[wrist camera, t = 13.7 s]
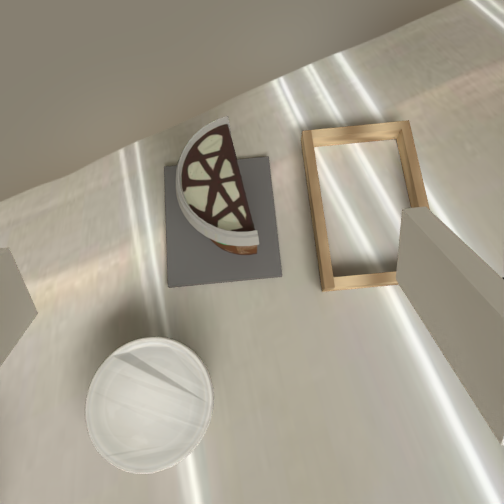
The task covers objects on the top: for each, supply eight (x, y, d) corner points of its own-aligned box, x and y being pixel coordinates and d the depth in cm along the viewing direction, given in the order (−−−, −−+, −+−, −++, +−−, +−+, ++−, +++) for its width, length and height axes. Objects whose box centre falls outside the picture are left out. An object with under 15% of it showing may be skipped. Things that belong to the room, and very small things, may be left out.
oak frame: (403, 130, 47) (409, 120, 45) (436, 280, 42) (445, 276, 40) (300, 140, 47) (302, 130, 45) (322, 291, 42) (324, 288, 40)
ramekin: (214, 334, 41) (207, 329, 36) (224, 453, 38) (218, 466, 33) (106, 347, 41) (83, 343, 36) (107, 467, 38) (83, 482, 33)
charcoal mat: (268, 159, 46) (268, 156, 46) (282, 276, 43) (282, 275, 42) (165, 169, 47) (164, 166, 46) (169, 287, 43) (168, 286, 42)
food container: (182, 177, 46) (159, 125, 36) (234, 164, 46) (226, 110, 36) (203, 280, 42) (185, 254, 32) (260, 266, 42) (259, 236, 33)
